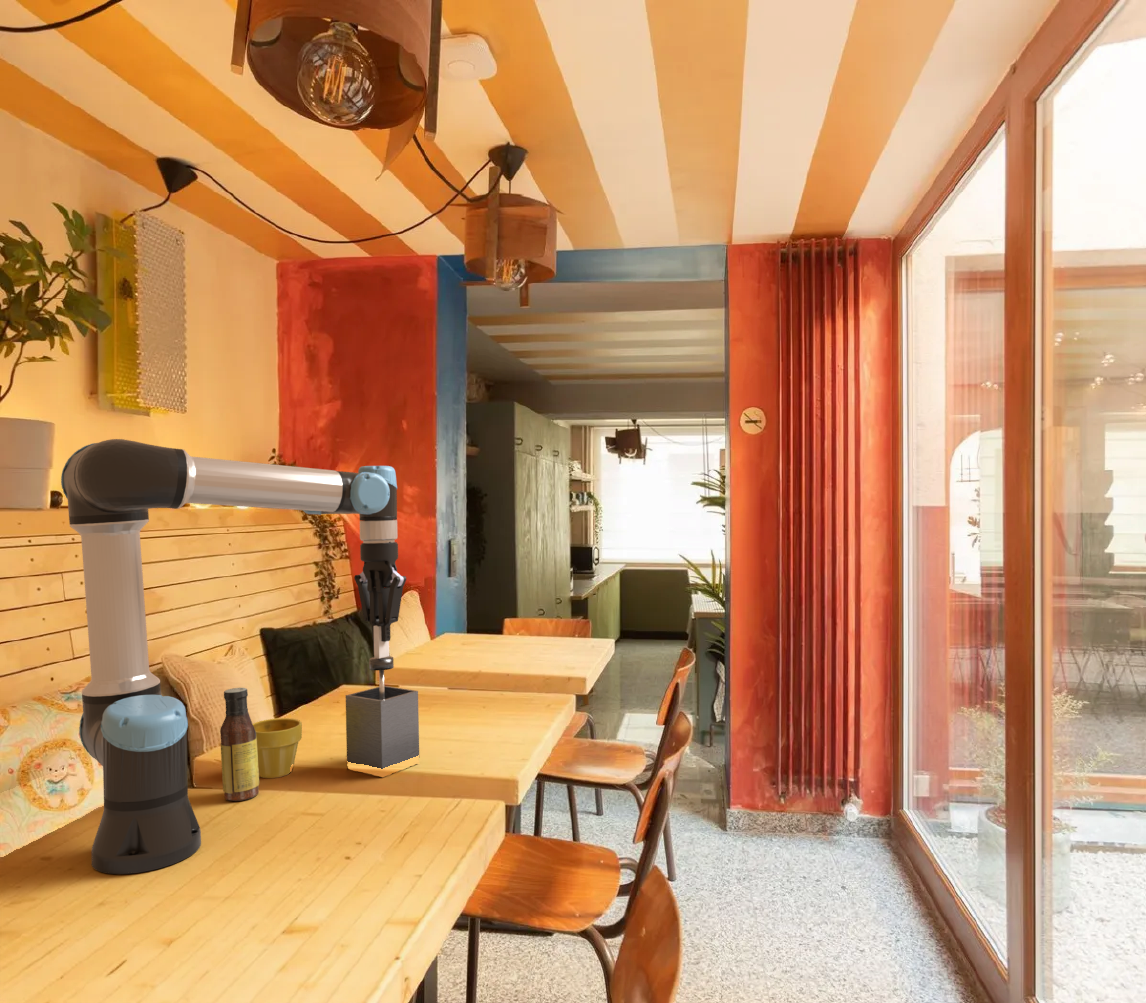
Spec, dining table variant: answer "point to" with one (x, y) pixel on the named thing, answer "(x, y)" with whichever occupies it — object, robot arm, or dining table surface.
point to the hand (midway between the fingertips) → (381, 656)
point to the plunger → (381, 670)
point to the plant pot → (277, 745)
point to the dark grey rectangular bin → (382, 726)
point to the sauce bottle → (238, 748)
